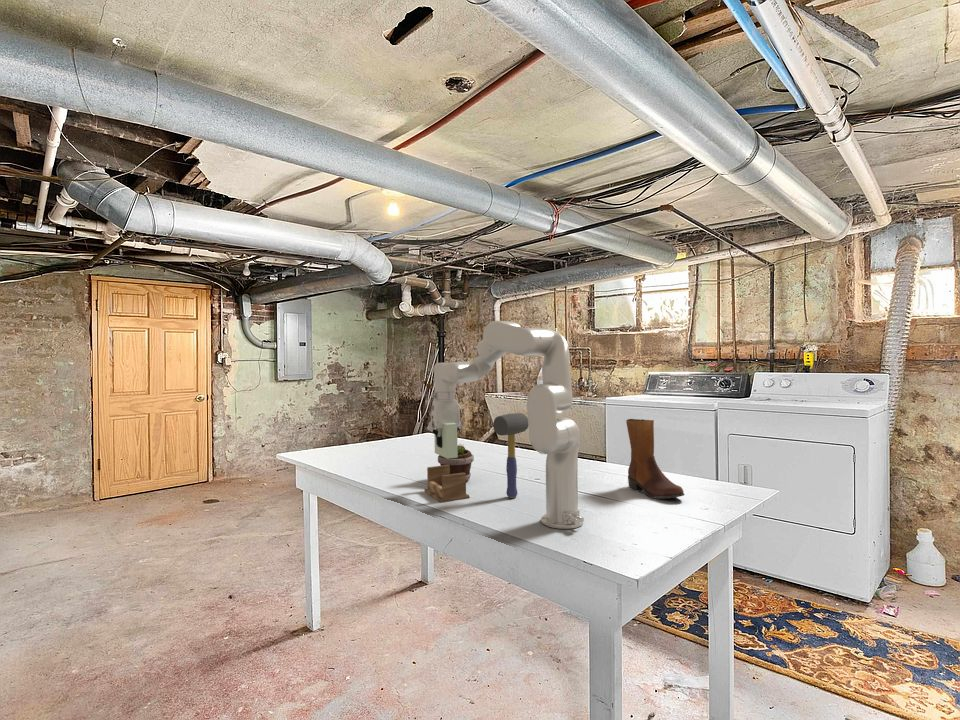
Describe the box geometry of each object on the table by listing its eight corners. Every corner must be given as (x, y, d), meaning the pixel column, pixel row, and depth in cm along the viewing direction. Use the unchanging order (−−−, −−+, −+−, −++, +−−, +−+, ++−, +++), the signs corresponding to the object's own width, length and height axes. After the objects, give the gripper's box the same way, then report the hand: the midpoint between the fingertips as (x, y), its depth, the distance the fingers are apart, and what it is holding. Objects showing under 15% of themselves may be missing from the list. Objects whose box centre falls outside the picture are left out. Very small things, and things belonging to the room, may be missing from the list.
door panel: (457, 457, 180) (457, 423, 180) (445, 458, 178) (445, 424, 178) (444, 451, 190) (444, 420, 190) (433, 453, 188) (432, 421, 188)
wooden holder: (469, 498, 180) (469, 472, 180) (440, 502, 175) (440, 476, 175) (451, 487, 194) (451, 464, 194) (424, 491, 189) (424, 467, 189)
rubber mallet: (508, 503, 172) (506, 416, 172) (492, 499, 178) (491, 414, 177) (531, 496, 181) (530, 412, 181) (515, 492, 187) (514, 411, 186)
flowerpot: (475, 476, 211) (475, 429, 210) (472, 486, 195) (471, 435, 195) (441, 476, 212) (440, 429, 212) (434, 486, 197) (434, 435, 196)
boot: (689, 502, 171) (688, 423, 171) (666, 505, 169) (665, 424, 168) (644, 484, 195) (643, 415, 195) (623, 486, 193) (622, 416, 192)
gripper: (427, 398, 177) (427, 450, 177) (470, 395, 184) (470, 445, 184) (419, 396, 183) (420, 447, 184) (461, 394, 191) (462, 442, 191)
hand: (445, 445), depth 184 cm, fingers closed on door panel, 4 cm apart
